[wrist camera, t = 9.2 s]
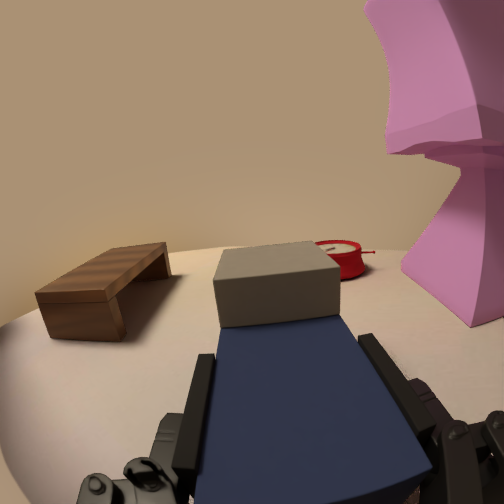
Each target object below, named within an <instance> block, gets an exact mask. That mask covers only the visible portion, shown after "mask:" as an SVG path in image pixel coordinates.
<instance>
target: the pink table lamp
mask: <svg viewBox="0 0 504 504" xmlns="http://www.w3.org/2000/svg"><path fill="white" fill-rule="evenodd" d="M364 12H365V14H366V16H367V17H368V19H369V21H370V23H371V24H372V26H373V28H374V30H375V31H376V34H377V35H378V37H379V40H380V42H381V45H382V47H383V50H384V52H385V56H386V60H387V64H388V68H389V78H390V102H389V113H388V120H387V126H386V133H385V139H386V148H387V154H401V155H415V154H425V158H428V159H431V160H435V161H439V162H442V163H446V164H449V165H452V166H456V167H459V168H460V169H461V176H460V178H459V180H458V181H457V183H456V185H455V186H454V188H453V189H452V191H451V192H450V194H449V196H448V197H447V199H446V201H445V202H444V203H443V205H442V206H441V208H440V209H439V211H438V212H437V214H436V215H435V217H434V218H433V219H432V221H431V222H430V224H429V225H428V226H427V228H426V229H425V231H424V232H423V233H422V235H421V236H420V238H419V239H418V240H417V241H416V243H415V244H414V245H413V247H412V248H411V249H410V250H409V252H408V253H407V254H406V256H405V257H404V258H403V259H402V261H401V271H402V272H403V273H405V274H406V275H407V276H409V277H410V278H411V279H413V280H414V281H415V282H416V283H418V284H419V285H420V286H421V287H423V288H424V289H425V290H426V291H428V292H429V293H430V294H431V295H433V296H434V297H435V298H436V299H438V300H439V301H440V302H441V303H442V304H444V305H445V306H446V307H447V308H448V309H450V310H451V311H452V312H453V313H454V314H455V315H457V316H458V317H459V318H460V319H461V320H462V321H464V322H465V323H466V324H467V325H468V326H469V327H470V328H471V327H474V326H477V325H480V324H483V323H486V322H489V321H492V320H495V319H497V318H500V317H503V316H504V0H367V2H366V4H365V6H364Z"/></svg>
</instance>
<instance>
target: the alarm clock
mask: <svg viewBox="0 0 504 504" xmlns="http://www.w3.org/2000/svg"><path fill="white" fill-rule="evenodd" d="M315 244H316V245H317V246H318V247H320V248H321V249H322V250H323V251H324V252H325V253H326V254H327V255H328V256H329V257H331V258H332V259H333V260H334V261H335V262H336V263H337V264H338V265H339V266H340V279H347V278H352V277H355V276H358V275H360V274H361V273H363V272H364V270H365V265H364V263H363V260H362V258H361V254H363V253H375V251H373V252H361V246H360V244H358V243H355V242H352V241H345V240H328V241H320V242H315Z"/></svg>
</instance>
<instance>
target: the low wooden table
mask: <svg viewBox="0 0 504 504" xmlns="http://www.w3.org/2000/svg"><path fill="white" fill-rule="evenodd" d="M171 275H172V274H171V269H170V264H169V258H168V252H167V246H166V242H160V243H153V244H144V245H136V246H128V247H120V248H113V249H110V250H108V251H106V252H104V253H102V254H100V255H99V256H97V257H95V258H93V259H91V260H89V261H88V262H86V263H84V264H82V265H81V266H79V267H77V268H75V269H73V270H72V271H70V272H68V273H67V274H65V275H63V276H61V277H60V278H58V279H56V280H54V281H53V282H51V283H49V284H48V285H46V286H44V287H43V288H41V289H40V290H38V291H36V292H35V296H36V299H37V302H38V305H39V309H40V311H41V314H42V317H43V320H44V323H45V325H46V328H47V331H48V333H49V336H50V338H60V339H73V340H90V341H116V342H121V340H122V339H123V338H124V336H125V335H126V334H127V333H126V329H125V326H124V323H123V320H122V316H121V313H120V310H119V306H118V303H117V299H116V294H117V293H118V292H119V291H120V290H121V289H122V288H123V287H125V286H126V285H127V284H128V283H129V282H132V281H144V280H156V279H168V278H170V276H171Z"/></svg>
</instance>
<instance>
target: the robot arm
mask: <svg viewBox="0 0 504 504" xmlns="http://www.w3.org/2000/svg"><path fill="white" fill-rule="evenodd" d="M358 344H359V345H360V347H361V348H362V350H363V351H364V353H365V354H366V356H367V357H368V359H369V361H370V362H371V364H372V365H373V367H374V368H375V370H376V372H377V373H378V375H379V376H380V378H381V380H382V381H383V383H384V384H385V386H386V388H387V389H388V391H389V393H390V394H391V396H392V397H393V399H394V401H395V402H396V404H397V406H398V407H399V409H400V411H401V412H402V414H403V416H404V417H405V419H406V421H407V422H408V424H409V426H410V428H411V429H412V431H413V433H414V434H415V436H416V438H417V440H418V441H419V443H420V445H421V447H422V448H423V450H424V452H425V454H426V456H427V457H428V459H429V461H430V463H431V465H432V469H431V470H430V472H429V473H428V474H427V476H426V477H425V478H424V479H423V481H422V482H421V483H420V499H419V504H504V412H503V411H493V412H491V413H490V414H489V415H488V417H487V418H486V420H485V421H483V422H479V423H474V424H469V425H468V424H467V423H465V422H464V421H461V420H454V419H453V418H452V417H451V416H450V414H449V413H448V411H447V410H446V409H445V407H444V406H443V405H442V403H441V402H440V401H439V400H438V398H436V396H435V394H434V393H433V392H432V390H431V389H430V388H429V387H428V385H427V384H426V383H425V382H423V381H422V380H420V379H418V378H415V379H412V380H409V381H407V379H406V378H405V377H404V375H403V374H402V373H401V371H400V370H399V368H398V367H397V366H396V364H395V363H394V362H393V360H392V359H391V358H390V356H389V355H388V354H387V352H386V351H385V350H384V348H383V347H382V346H381V344H380V343H379V342H378V340H377V339H376V338H375V337H374V335H373V334H372V333H369V334H364V335H359V336H358ZM214 366H215V355H214V354H199V355H198V359H197V363H196V367H195V370H194V374H193V378H192V382H191V386H190V390H189V394H188V398H187V402H186V406H185V410H184V414H182V413H167V414H166V415H165V417H164V418H163V419H162V420H161V421H160V424H159V427H158V430H157V431H158V432H157V433H156V436H155V440H154V443H153V446H152V449H151V453H150V456H149V458H148V457H139V458H135V459H133V460H131V461H130V462H128V463H127V465H126V466H125V467H124V472H123V474H124V475H125V477H126V478H127V479H121V480H111V479H110V478H109V477H107V476H106V475H104V474H101V473H94V474H91V475H88V476H87V477H86V478H84V480H83V482H82V484H81V488H80V492H79V495H78V499H77V503H76V504H189V503H188V502H189V496H190V495H191V496H192V498H193V499H194V497H195V489H196V482H197V475H198V469H199V462H200V455H201V449H202V442H203V435H204V429H205V422H206V416H207V409H208V403H209V397H210V390H211V384H212V378H213V372H214ZM491 453H492V454H493V456H492V455H491Z"/></svg>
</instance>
